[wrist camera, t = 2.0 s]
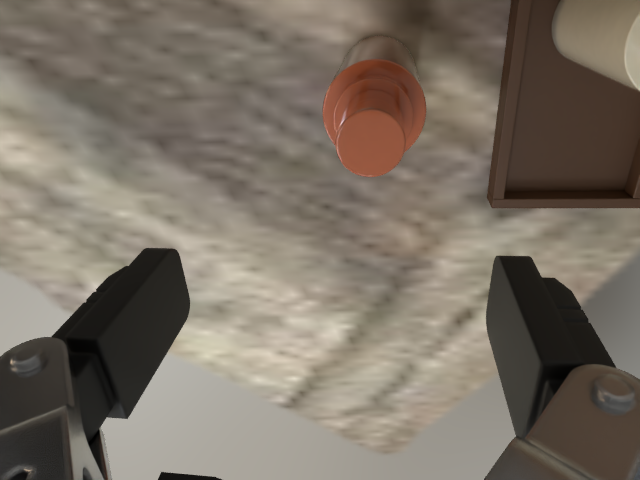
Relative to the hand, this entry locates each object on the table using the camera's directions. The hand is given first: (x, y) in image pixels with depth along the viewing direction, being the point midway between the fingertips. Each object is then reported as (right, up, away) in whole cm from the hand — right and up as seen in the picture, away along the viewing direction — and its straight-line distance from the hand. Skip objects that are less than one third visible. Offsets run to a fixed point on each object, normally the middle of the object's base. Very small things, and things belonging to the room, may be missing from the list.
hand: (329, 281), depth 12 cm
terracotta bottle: (+4, +13, +22) cm, 26 cm away
